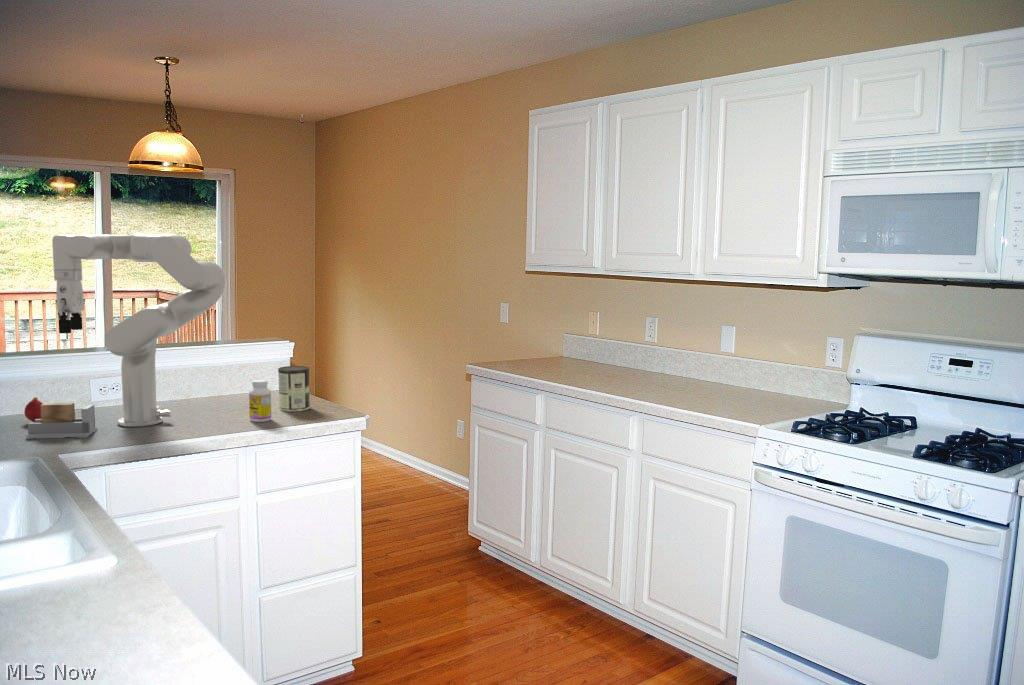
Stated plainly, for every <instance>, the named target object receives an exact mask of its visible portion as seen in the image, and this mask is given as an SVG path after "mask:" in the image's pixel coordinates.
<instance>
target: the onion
mask: <svg viewBox="0 0 1024 685" xmlns="http://www.w3.org/2000/svg"><path fill="white" fill-rule="evenodd" d="M42 404H44V403H43V402H42V401H40V400H38V397H37V396H35V397H33V398H32V399H31V400H30V401H29V402H28V403H27V404H26V405H25V406H24V411H23V412H24V416H25V418H26V419H27V420H29V421H31V422H32V423H35V419H41V405H42Z"/></svg>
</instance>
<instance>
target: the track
mask: <svg viewBox="0 0 1024 685" xmlns="http://www.w3.org/2000/svg"><path fill="white" fill-rule="evenodd" d="M97 430H98V426H96V416H95V404H88V405H86V406H83V408H81V417H79V418H78V417H77V418H76V417H75V422H52V423H42V421H41V419H35V423H34V422H28V423H27V434H26V435H25V439H26V440H29V439H30V440H31V439H32V440H33V438H36V439H65V437H78V438H88V437H89V436H91V435H92V434H94V433H95V432H96V431H97ZM93 432H94V433H93Z"/></svg>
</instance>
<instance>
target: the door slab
mask: <svg viewBox="0 0 1024 685" xmlns="http://www.w3.org/2000/svg"><path fill="white" fill-rule="evenodd" d="M75 408H76V406H75V402H44V403H43V404H42V405H41V421H42V423H52V422H75V418H76V409H75Z"/></svg>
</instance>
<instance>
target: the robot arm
mask: <svg viewBox="0 0 1024 685" xmlns="http://www.w3.org/2000/svg"><path fill="white" fill-rule="evenodd" d="M51 240H52V262H53V263H52V264H53V276H54V277H53V278H54V279H53V280H54V281H56V294H55V295H56V309H57V315H58V316H57V321H58V332H59V334H71V333H72V330H75V331H76V330H77V331H78V330H80V331H81V330H83V317H82V316H83V313H82V312H83V311H85V301H84V300H85V299H84V298H85V297H84V291H83V284H82V283H83V282H82V281H83V268H82V267H83V266H82V265H83V264H82V260H89V261H90V260H131V261H134V262H136V263H156V264H158V265H159V266H160V267H161V269H163V270H164V271H165V272H166V273H167V274H168V275H170V276H171V278H173V279H174V280H175V281H176V282H177V283H178V284H179V285H181V286H182V287H183V288H185V289H187V290H185V291H182V292H181V293H178V295H176V296H174V297H173V298H171V299H170V300H168V301H166V302H164V303H160V304H156V305H151V306H147V307H145V308H142V309H140V310H138V311H137V312H135V313H134V314H132V315H130V316H128V317H127V318H125V319H123V320H122V321H120V322H118V323H117V324H116V325H113V327H111V328H110V329H109V331H108V333H106V335H105V336H106V337H105V346H106V349H107V350H108V351H109V352H110V353H111V354H112V355H114V356H117V357H122V358H121V364H120V365H121V368H120V369H121V389H122V390H121V392H122V394H121V395H122V414H123V415H122V416H123V417H121V418H119V419H118V420H117V425H119V426H121V427H131V428H133V427H135V428H137V427H140V428H141V427H146V426H154V425H157V424H161V423H162V422H163V418H171V417H172V410H169V409H163V410H162V409H160V405H157V404H158V403H157V385H156V384H157V382H156V381H157V380H156V377H157V376H156V352H157V347H158V346H157V345H158V344H157V343H158V339H159V338H162V337H165V336H169V335H171V334H174V333H175V332H177V331H178V330H179V329H181V328H182V327H184V326H185V325H187V324H189V323H190V322H192V321H193V320H194V319H196V318H198V317H200V315H203V313H205V312H207V311H209V310H210V309H211V308H212V307H213V306H215V305H216V304H217V302H218V301H219V300H220V298H221V297H222V296H223V293H224V291H225V290H224V289H225V286H226V285H225V284H226V279H225V278H226V277H225V273H224V271H223V269H222V268H221V266H220V265H219V264H217V263H215V262H213V261H207V260H203V261H202V260H201V261H197V260H196V259H195V258H193V257H192V256H191V253H192V246H191V243H190V241H189V240H188V239H187V238H186V237H184V236H182V235H179V234H159V233H158V234H156V233H155V234H154V233H153V234H152V233H150V234H149V233H147V234H146V233H134V234H131V235H129V234H128V235H124V234H123V235H122V234H119V235H118V234H116V235H115V234H80V235H79V234H77V235H75V234H55V235H54V236H52V239H51Z"/></svg>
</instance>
